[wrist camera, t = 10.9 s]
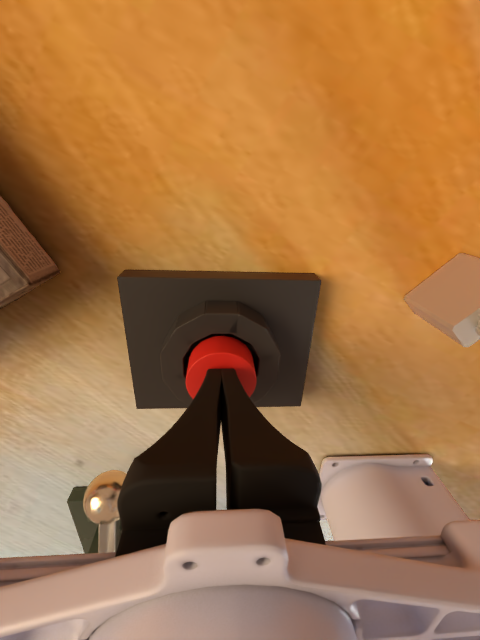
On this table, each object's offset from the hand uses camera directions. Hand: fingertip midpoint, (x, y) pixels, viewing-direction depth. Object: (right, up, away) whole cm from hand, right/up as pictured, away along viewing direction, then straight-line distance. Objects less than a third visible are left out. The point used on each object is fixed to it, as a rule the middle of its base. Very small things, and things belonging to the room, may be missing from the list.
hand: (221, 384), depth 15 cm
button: (0, +1, +2) cm, 2 cm away
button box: (0, +2, +4) cm, 5 cm away
